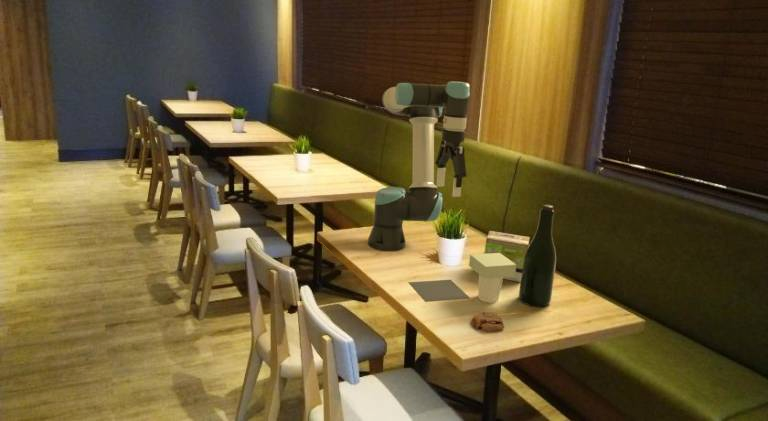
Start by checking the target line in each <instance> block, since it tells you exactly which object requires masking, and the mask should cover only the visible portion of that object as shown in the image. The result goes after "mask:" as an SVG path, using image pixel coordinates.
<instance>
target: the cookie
mask: <svg viewBox="0 0 768 421" xmlns="http://www.w3.org/2000/svg"><path fill="white" fill-rule="evenodd" d="M470 322H471V325H472V326H473V327H474V328H475V330H480V331H481V332H485V333H498V332H502V331H503V330H504V329H505V324H504V321H503V319H502V317H501V316H500V315H499V314H497V313H493V312H487V311H485V312H479V313H477V315H476V316H475V315H474V316H473V318H471V320H470Z"/></svg>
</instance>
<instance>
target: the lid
mask: <svg viewBox="0 0 768 421" xmlns="http://www.w3.org/2000/svg"><path fill="white" fill-rule="evenodd" d="M468 266H469V267H470V268H471V269H472V270H473V271H475V272H476V273H477V274H478V276H479V275H481V276H482V277H483V278H484V279H485V278H499V277H514V276H515V272H516V264H515V263H513V262H512V261H510V260H509V259H508V258H506V257H505V256H503V255H502V254H501V253H489V254H484V253H475V254H470V255H469V262H468Z"/></svg>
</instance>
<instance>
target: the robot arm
mask: <svg viewBox="0 0 768 421" xmlns="http://www.w3.org/2000/svg"><path fill="white" fill-rule="evenodd" d="M470 87H471V86H470V84H469V83H468V82H464V81H451V80H450V81H448V82H447V83H446V84H432V83H431V84H429V83H428V84H426V83H414V82H413V83H411V82H399V83H397V84H396V86H391V87H389V88H388V89H386V90H385V91H384V92H383V95H382V98H381V100H382V102H381V103H382V105H383V107H384V109H386V110H387V111H388V112H389V113H391V114H394V115H398V116H403V117H404V116H405V117H408V122H410V123H411V124H412V184H411V185H409V187H408V191H406V190H405V188H404V187H401V186H388V187H383V188H381V189H378V190H377V191H376V193H375V199H374V211H373V214H374V215H373V224H372V226H373V227H372V228H371V231H370V233H369V235H368V239H367V245H368V246H369V247H370V248H372V249H375V250H379V251H387V252H390V251H391V252H393V251H400V250H403V249H404V248H405V247H406V237H405V233H404V228H403V222H405V221H407V222H434V221H436V220H437V219H438V218H439V217H440V215H441V212H442V209H443V208H442V207H443V194H442V193H441V192H439V191H438V187H439V188H440V187H441V188H442V187H445V183H446V182H445V180H446V171H447V169H446V168H447V163H448V161H449V160H451V161H452V166H453V171H454V176H453V184H452V193H451V197H453V198H454V197H455V198H458V197H460V198H461V193H462V186H463V179H464V178H466V177H467V167H466V158H465V156H466V155H465V150H466V149H465V147H464V146H461V143H464V142H465V136H466V131H465V130H466V128H467V121H468V117H467V116H468V108H469V100H470V94H471V92H470V90H471V89H470ZM443 109H444V113H443ZM442 114H443V119H442V122H443V124H442V125H443V126H442V127H443V129H442V132H441V133H442V134H441V141H440V147H439V150H438V152H437V156H436V158H435V124H437V123H438V121H439V120H438V119H439V118H440V117H442ZM435 165H436V167H437V174H436V183H435Z"/></svg>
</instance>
